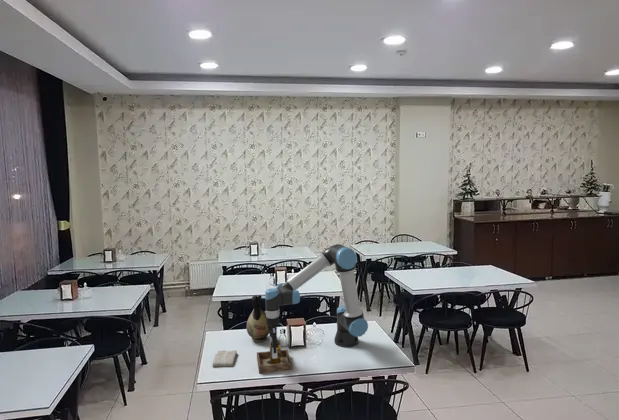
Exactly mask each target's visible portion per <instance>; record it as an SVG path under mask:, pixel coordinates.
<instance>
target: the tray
mask: <svg viewBox="0 0 619 420" xmlns="http://www.w3.org/2000/svg"><path fill="white" fill-rule="evenodd" d="M269 360H270V350H269V351H267V350H266V351H258V352H256V362H257V368H258V374H266V373H267V374H268V373H277V372H285V371H293V363H292V360H291V356H290V353H289V350H288V349H281V361H282V362H283V363H279V364H270V365H267V364H266V363H265V362H266V361H269Z"/></svg>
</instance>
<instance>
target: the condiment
mask: <svg viewBox="0 0 619 420" xmlns="http://www.w3.org/2000/svg"><path fill="white" fill-rule="evenodd" d="M271 346H272V341H271V343H270V342H269V351H270V360H269V361H266V362H265V363H266V364H267V365H270V364H279V363H283V362H282V361H281V350H282V348H281V345H280V341H279V340H277V346H278V347H277V358H274V359H273V358H272V348H271Z"/></svg>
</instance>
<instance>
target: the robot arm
mask: <svg viewBox="0 0 619 420" xmlns="http://www.w3.org/2000/svg"><path fill="white" fill-rule="evenodd" d="M357 263H358V256H357V253H356V252H355V251H354V250H353V249H352V248H351V247H348V246H344V245H343V244H339V243H337V244H332V245H331V246H329V247H328V248H326V249H325V250H323V251H322V252H320V254H319V257H317V258H316V259H314V260H313V261H311V263H309V264H308V265H306V266H305V267H304V268H302V269H301V270H300V271H298V272H297V273H296V274H295V275H293V276H292V277H290V278H289V279H288V280H286V281H285V282H283V283H282V282H281V283H279V284H277V285H276V287H274V288H273V287H272V288H268V289H266V290H265V292H264V293H265V295H264V296H265V297H264V299H265V301H264V302H265V311H264V313H265V314H266V324H267V325H270V326H269V344H270V343H271V341H272V346H271V348H272V358H273V359H274V358H277V347H278V346H277V341H278V337H277V335H278V331H277V329H278V327H277V325H279V324H280V306H287V305H296V304H299V303H300V301H301V295H300V292H299V290H298V289H299V288H301V287H302V286H303V285H305V284H306V283H307V282H309V281H310V280H311V279H312V278H314V277H315V276H316V275H318V274H320V273H321V272H322V271H323V270H324V269H326V268H327V267H329V268H330V267H332V266H333V265H334V266H335V271H336V272H337V273H338V274H339V281H340V286H341V292H342V297H343V303H344V305H341V306H338V307H337V309H336V332H335V333H336V334H335V336H334V341H333V342H334V344H335V345H337V346H338V347H342V348H350V347H351V348H353V347H356V346H357V345H359V342H360V341H359V337H362V336H363V335H365V334H366V332H368V328H369V323H368V321H367V319H365V314H364V310H363V309H361V306H360V301H359V295H358V289H357V282H356V276H355V270H356V269H357V267H356V264H357Z"/></svg>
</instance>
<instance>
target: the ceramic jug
mask: <svg viewBox="0 0 619 420" xmlns="http://www.w3.org/2000/svg"><path fill="white" fill-rule="evenodd" d="M262 297H263V296H262V295H260V294H259V295H256V294H255V295H252V297H251V302H252V307H253V310H252V312H251V313H250V314H249V317H248V319H247V322H246V332H247V334H248V336H250V337H251V339H252V341H253V342H256V343H258V342H264V341H267V339H268V336H270V334H269V326H270V325H267V324H266V313H265V311H264V310H263V309H262V308H261V307H260V300H261V299H262Z"/></svg>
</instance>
